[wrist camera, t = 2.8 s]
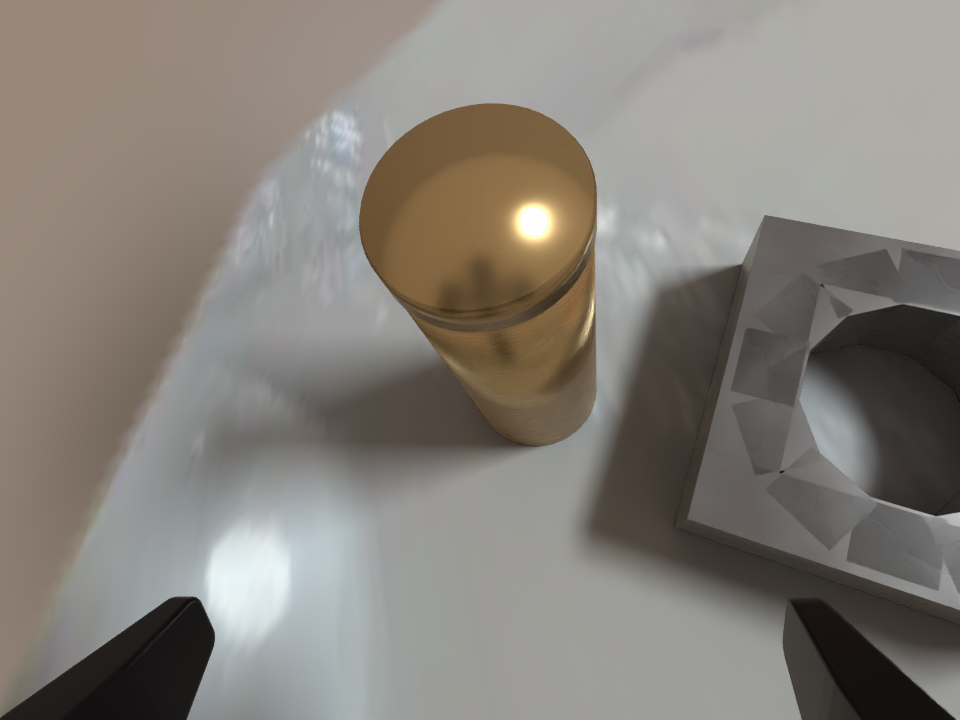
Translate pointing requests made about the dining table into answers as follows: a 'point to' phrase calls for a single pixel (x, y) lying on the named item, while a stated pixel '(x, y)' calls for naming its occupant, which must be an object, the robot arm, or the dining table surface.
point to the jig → (785, 430)
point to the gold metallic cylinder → (495, 260)
